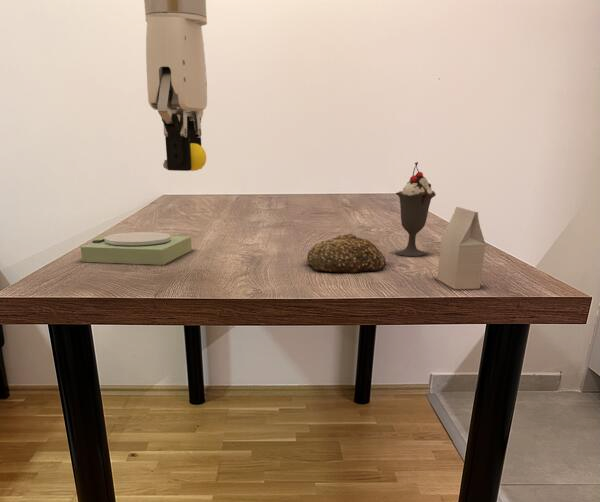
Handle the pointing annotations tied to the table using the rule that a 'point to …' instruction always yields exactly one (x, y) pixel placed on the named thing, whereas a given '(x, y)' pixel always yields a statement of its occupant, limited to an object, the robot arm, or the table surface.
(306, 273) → the table surface
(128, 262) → the scale
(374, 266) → the bread roll
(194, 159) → the light bulb
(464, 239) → the gable-top milk carton
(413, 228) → the sundae
